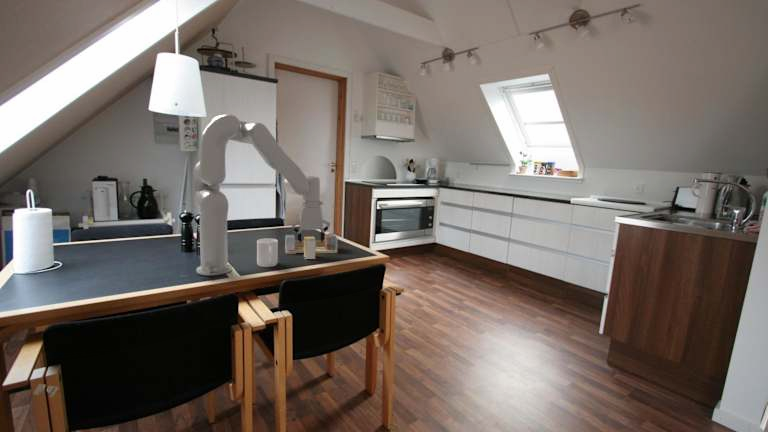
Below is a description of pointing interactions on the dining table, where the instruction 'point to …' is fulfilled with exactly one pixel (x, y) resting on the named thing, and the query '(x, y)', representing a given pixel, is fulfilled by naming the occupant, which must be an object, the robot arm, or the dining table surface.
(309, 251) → the book
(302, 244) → the rack
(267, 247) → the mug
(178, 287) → the dining table surface
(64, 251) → the dining table surface
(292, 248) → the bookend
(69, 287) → the dining table surface
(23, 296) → the dining table surface
